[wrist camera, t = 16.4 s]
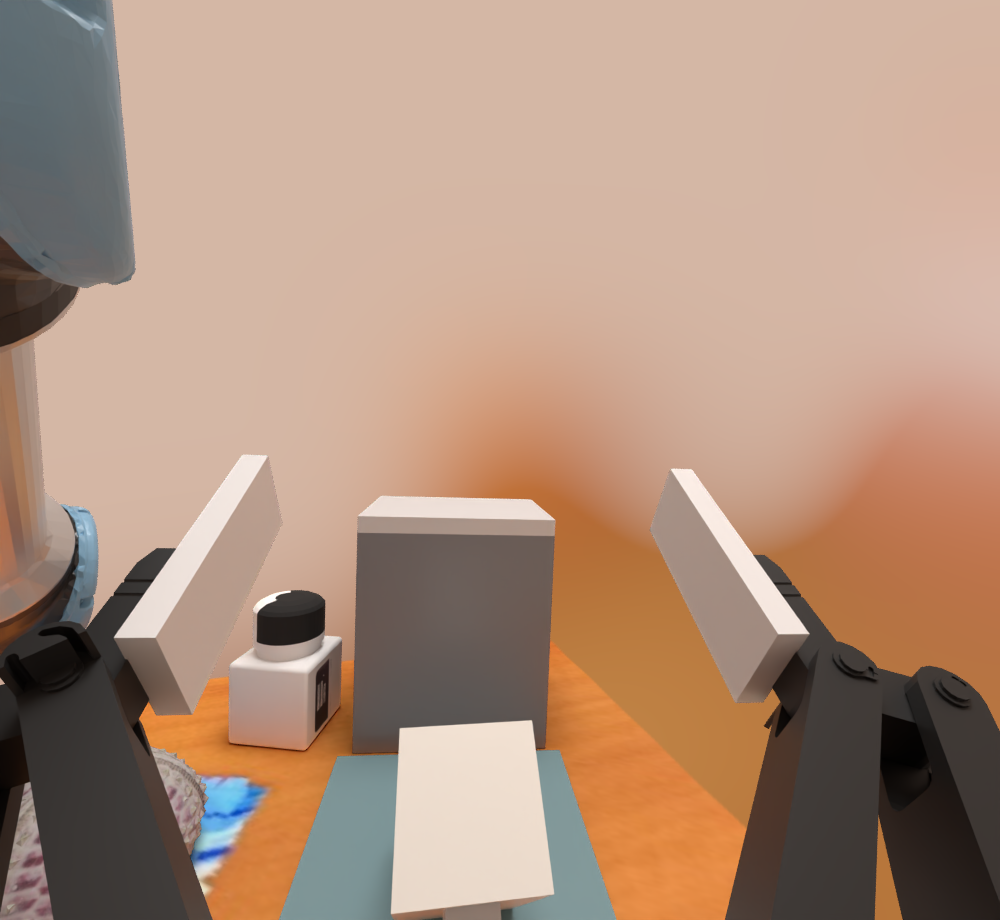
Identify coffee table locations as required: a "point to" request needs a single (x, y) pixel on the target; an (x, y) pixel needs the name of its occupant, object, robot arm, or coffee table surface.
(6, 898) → the sea urchin shell
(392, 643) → the stand
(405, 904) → the tall white block
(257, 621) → the container
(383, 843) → the mat
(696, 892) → the coffee table surface
